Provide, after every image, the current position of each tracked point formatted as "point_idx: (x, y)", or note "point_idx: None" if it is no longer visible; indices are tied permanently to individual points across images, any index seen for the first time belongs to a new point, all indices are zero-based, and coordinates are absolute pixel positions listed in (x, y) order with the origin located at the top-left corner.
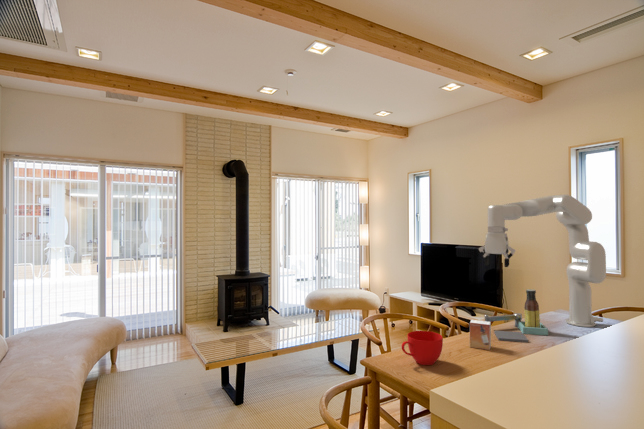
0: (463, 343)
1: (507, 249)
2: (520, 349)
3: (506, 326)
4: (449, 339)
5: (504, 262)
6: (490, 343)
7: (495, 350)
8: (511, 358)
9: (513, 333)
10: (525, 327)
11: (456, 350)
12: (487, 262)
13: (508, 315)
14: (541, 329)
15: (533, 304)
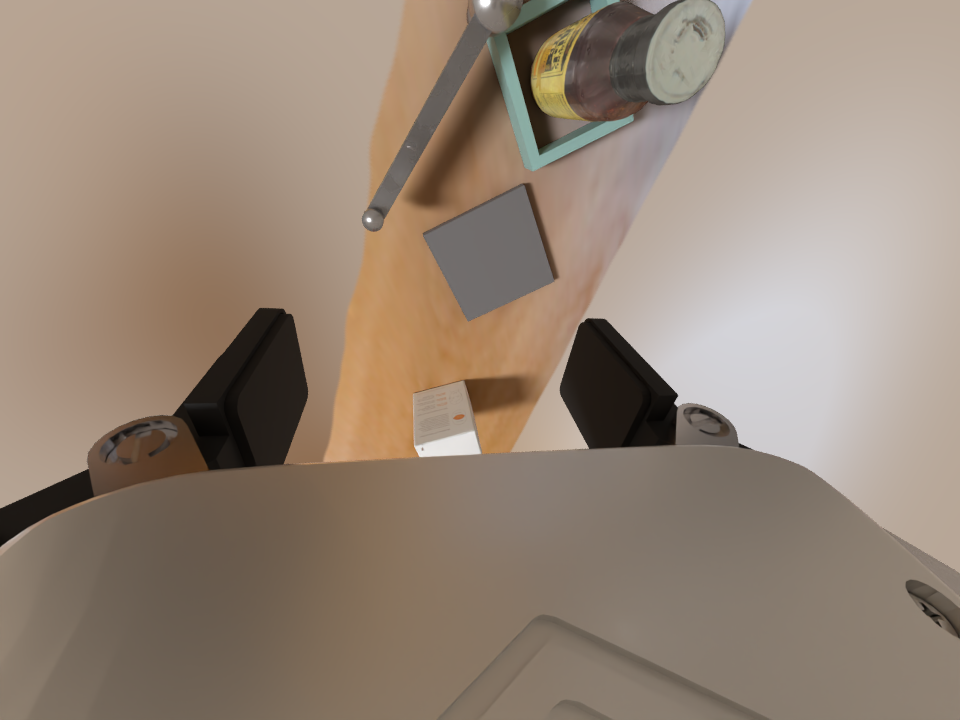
0: (396, 404)
1: (900, 564)
2: (536, 354)
3: (430, 60)
4: (347, 400)
5: (582, 435)
6: (469, 399)
7: (483, 399)
8: (525, 420)
9: (497, 228)
10: (542, 165)
11: (409, 451)
12: (290, 396)
13: (453, 79)
14: (605, 134)
15: (633, 111)
